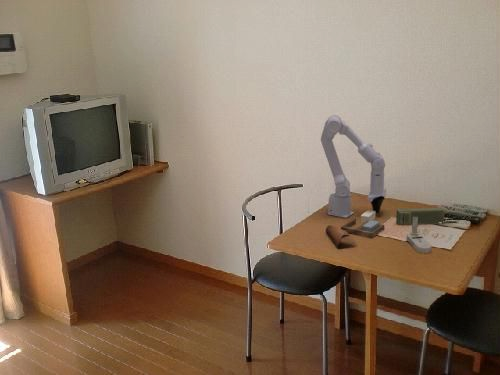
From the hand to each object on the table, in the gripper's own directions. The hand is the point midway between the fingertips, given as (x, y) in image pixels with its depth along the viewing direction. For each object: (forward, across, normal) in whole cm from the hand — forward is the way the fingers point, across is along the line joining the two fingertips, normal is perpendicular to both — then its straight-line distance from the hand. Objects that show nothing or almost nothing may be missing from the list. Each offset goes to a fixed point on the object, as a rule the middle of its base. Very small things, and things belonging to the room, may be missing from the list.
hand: (376, 212), depth 240 cm
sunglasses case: (+2, -33, -1) cm, 33 cm away
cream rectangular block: (+1, -8, 0) cm, 8 cm away
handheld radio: (+2, +1, -22) cm, 22 cm away
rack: (+1, -20, -4) cm, 20 cm away
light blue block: (+1, -19, -7) cm, 20 cm away
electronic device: (+2, -23, -28) cm, 36 cm away
